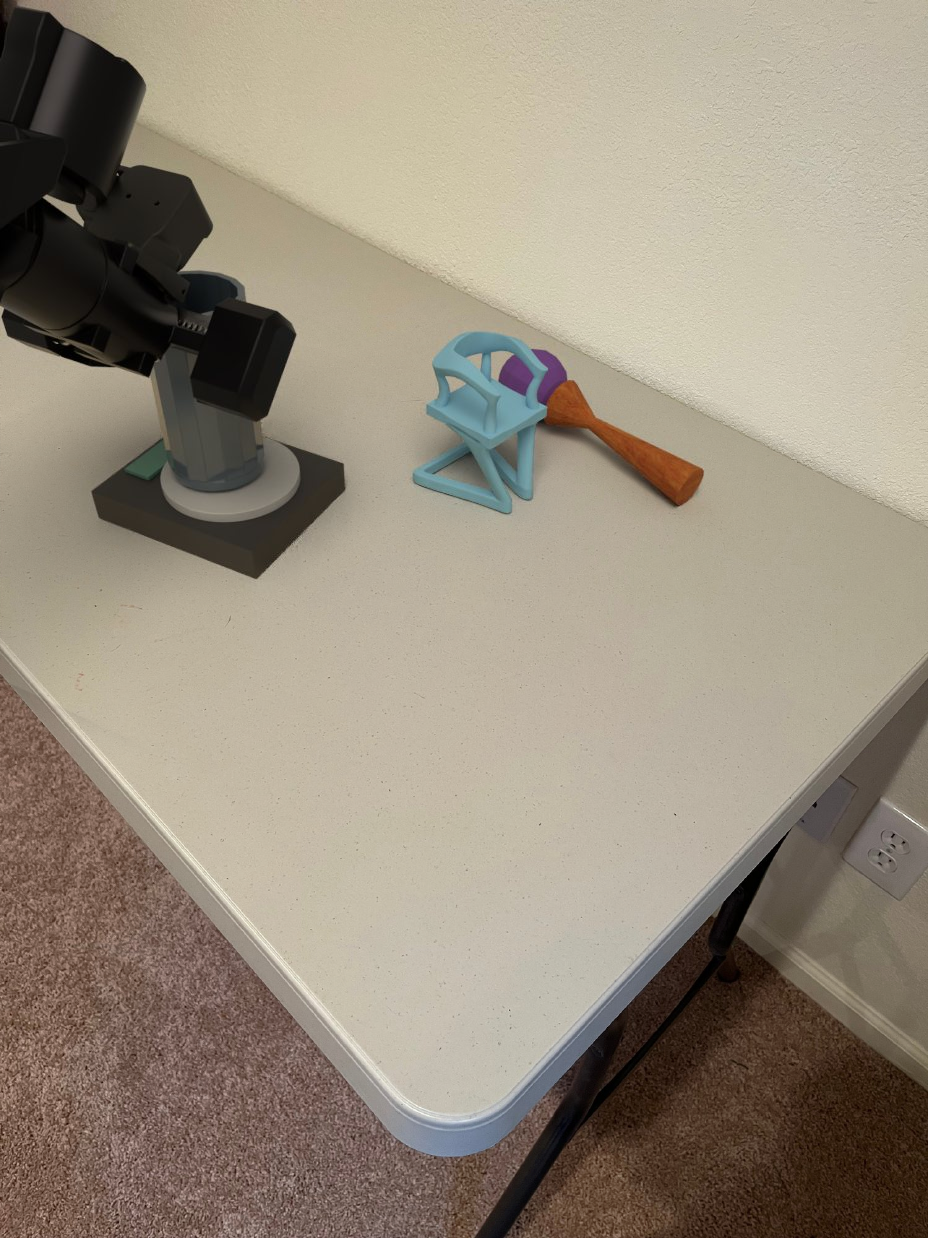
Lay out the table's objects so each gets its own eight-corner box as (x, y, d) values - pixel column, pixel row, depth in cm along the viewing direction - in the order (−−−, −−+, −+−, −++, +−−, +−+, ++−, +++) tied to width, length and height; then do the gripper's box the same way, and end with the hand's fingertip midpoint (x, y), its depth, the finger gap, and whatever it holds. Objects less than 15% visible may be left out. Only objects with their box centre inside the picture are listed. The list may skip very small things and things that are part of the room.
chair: (488, 528, 69) (500, 387, 61) (410, 480, 73) (412, 341, 64) (551, 486, 73) (572, 349, 65) (475, 443, 77) (485, 308, 69)
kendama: (671, 480, 68) (483, 357, 76) (660, 532, 73) (484, 411, 81) (721, 439, 70) (533, 324, 79) (706, 492, 75) (531, 378, 83)
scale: (98, 518, 68) (87, 481, 65) (199, 439, 75) (193, 404, 73) (256, 579, 64) (251, 543, 61) (345, 489, 72) (343, 454, 69)
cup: (192, 502, 64) (159, 327, 55) (156, 454, 67) (118, 283, 58) (281, 473, 67) (263, 302, 57) (241, 428, 70) (218, 262, 61)
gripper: (260, 167, 45) (374, 296, 60) (-21, 100, 51) (148, 234, 66) (185, 379, 46) (317, 455, 61) (-87, 290, 51) (96, 381, 66)
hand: (217, 374), depth 63 cm, fingers closed on cup, 7 cm apart
